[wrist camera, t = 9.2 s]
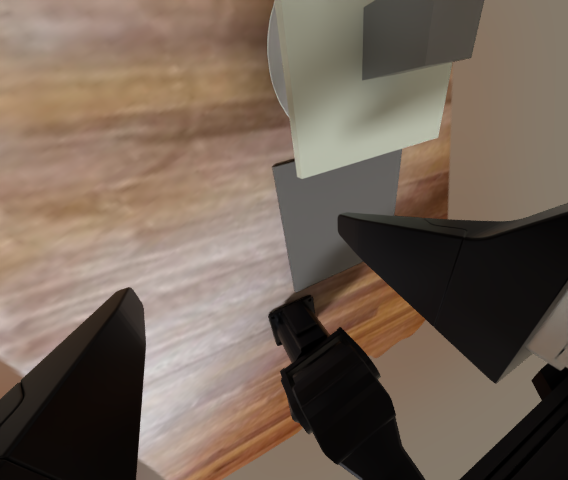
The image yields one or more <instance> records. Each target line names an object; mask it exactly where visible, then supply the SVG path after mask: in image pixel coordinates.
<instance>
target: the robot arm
mask: <svg viewBox="0 0 568 480" xmlns="http://www.w3.org/2000/svg"><path fill="white" fill-rule="evenodd" d="M337 225H338V233H339V235H340V236H341V237H342V239H343V240H344V241H345V242H346V243H347V244H348V245H349V247H350V248H351V249H352V250H353V251H354V252H355V253H356V255H357V256H358V257H359V258H360V259H361V260H363V261H364V262H365V263H366V264H367V265H368V266H369V267H370V268H371V269H372V270H373V271H374V272H375V273H376V274H378V275H379V276H380V277H381V278H382V279H383V280H384V281H385V282H386V283H387V284H388V285H389V286H390V287H392V288H393V289H394V290H395V291H396V292H397V293H398V294H399V295H400V296H401V297H402V298H403V299H404V300H405V301H407V302H408V303H409V304H410V305H411V306H412V307H413V308H414V309H415V310H416V311H417V312H418V313H419V314H420V315H422V316H423V317H424V318H425V319H426V320H427V321H428V322H429V323H430V324H431V325H432V326H434V327H435V329H436V330H438V332H440V333H441V334H442V335H443V336H444V337H445V338H446V339H447V340H448V341H449V342H450V343H451V344H452V345H454V346H455V347H456V348H457V349H458V350H459V351H460V352H461V353H462V354H463V355H464V356H465V357H466V358H467V359H468V360H470V361H471V362H472V363H473V364H474V365H475V366H476V367H477V368H478V369H479V370H480V371H481V372H482V373H484V374H485V375H486V376H487V377H488V378H489V379H490V380H491V381H493V382H494V383H498V382H499V381H500V380H501V379H503V378H504V377H505V376H506V375H507V374H509V373H510V372H511V371H512V370H513V369H515V368H516V367H517V366H518V365H520V364H521V363H522V362H523V361H524V360H525V359H527V358H528V357H529V356H530V355H532V354H535V355H536V356H538V357H539V358H541V359H543V360H544V361H546V362H547V363H548V364H547V365H545V366H544V367H543V368H542V369H541V370H540V371H539V372H538V373H537V374H536V376H535V377H534V378H533V379H532V382H533V384H534V386H535V388H536V390H537V392H538V394H539V396H540V398H541V399H542V401H541V402H540V403H539V404H538V405H537V406H536V407H535V408H534V409H533V410H532V411H531V412H530V413H529V414H528V415H527V416H525V418H523V419H522V421H520V422H519V423H518V424H517V425H516V426H515V427H514V428H513V429H512V430H511V431H510V432H509V433H508V434H507V435H506V436H505V437H504V438H502V439H501V440H500V441H499V442H498V443H497V444H496V445H495V446H494V447H493V448H492V449H491V450H490V451H489V452H488V453H487V454H486V455H485V456H484V457H483V458H482V459H481V460H479V461H478V462H477V463H476V464H475V465H474V466H473V467H472V468H471V469H470V470H469V471H468V472H467V473H466V474H465V475H464V476H463V477H462V478H461V479H460V480H568V203H567V204H564V205H560V206H558V207H555V208H552V209H549V210H546V211H543V212H540V213H537V214H535V215H532V216H529V217H526V218H523V219H519V220H513V221H503V222H502V221H501V222H500V221H471V220H447V219H432V218H418V217H404V216H390V215H377V214H363V213H350V212H345V213H342V214H339V215H338V218H337ZM268 318H269V321H270V324H271V328H272V331H273V335H274V338H275V342H276V344H277V346H280V345H283V347H284V348H285V350H286V352H287V354H288V356H289V358H290V360H291V362H292V364H290V365H289V366H288V367H286V368H285V369H284V368H283V369H282V370H281V371H280V373H281V376H282V378H281V379H282V380H281V382H282V385H283V387H284V389H285V392H286V395H287V398H288V403H289V408H290V412H291V416H292V419H293V420H294V421H295V422H298V423H300V424H301V426H302V427H303V428H304V429H305V431H306V432H307V433H308V434H310V433H312V432H313V434H314V436H315V438H316V440H317V442H318V443H319V445H320V447H321V449H322V451H323V452H324V454H325V455H326V456H327V457H328V458H329V459H331V460H332V461H333V462H334V463H335V464H337V465H338V464H339V465H340V466H342V467H343V468H344V469H346V470H347V471H348V472H350V473H351V474H352V475H354V476H355V477H357V478H358V479H359V480H425V479H424V477H423V475H422V474H421V473H420V471H419V470H418V468H417V467H416V465H415V464H414V463H413V461H412V460H411V458H410V457H409V455H408V454H407V452H406V451H405V450H404V448H403V446H402V444H401V439H400V435H399V431H398V426H397V422H396V418H395V416H396V414H395V410H394V407H393V403H392V400H391V398H390V396H389V394H388V393H387V392H386V390H385V389H384V387H383V386H382V385H381V383H380V382H379V381H378V379H379V378H380V377H381V376H380V374H379V372H378V370H377V368H376V367H375V365H374V364H373V362H372V361H371V360H370V358H369V357H368V356H367V354H366V353H365V352H364V351H363V350H362V349H361V348H360V346H359V345H358V344H357V343H356V342H355V341H354V340H353V339H352V338H351V337H350V336H349V335H348V334H347V333H346V332H345V331H344V330H343V329H342V328H341V327H339V328H338V329H337V331H335V332H334V333H333V334H331V335H330V334H329V333H328V332H327V330H326V329H325V328H324V326H323V325H322V324H321V322H320V321H319V320H318V318H317V317H316V316H315V310H314V302H313V297H312V296H311V295H309V296H306V297H304V298H302V299H300V300H298V301H296V302H294V303H292V304H289V305H287V306H285V307H283V308H281V309H279V310H277V311H275V312H273V313H271V314H269V316H268ZM145 352H146V336H145V321H144V308H143V304H142V302H141V301H140V299H139V298H138V296H137V295H136V293H135V292H134V290H133V289H132V288H130V287H128V288H125V289H122V290H119V291H117V292H116V293H114V294H113V295H112V296H111V297H110V298H109V299H108V300H107V301H106V302H105V303H104V304H103V305H102V306H100V307H99V308H98V309H97V310H96V311H95V312H94V313H93V314H92V315H91V316H90V317H89V318H87V319H86V320H85V321H84V322H83V323H82V324H81V325H80V326H79V327H78V328H77V329H76V330H75V331H73V332H72V333H71V334H70V335H69V336H68V337H67V338H66V339H65V340H64V341H63V342H62V343H60V344H59V345H58V346H57V347H56V348H55V349H54V350H53V351H52V352H51V353H50V354H49V355H48V356H46V357H45V358H44V359H43V360H42V361H41V362H40V363H39V364H38V365H37V366H36V367H35V368H33V369H32V370H31V371H30V372H29V373H28V374H27V375H26V376H25V377H24V378H23V379H22V380H21V382H20V383H17V384H16V385H15V386H14V387H13V388H12V389H11V390H10V391H9V392H7V393H6V394H5V395H4V396H3V397H2V398H1V399H0V480H136V472H137V459H138V446H139V432H140V419H141V406H142V392H143V379H144V365H145Z"/></svg>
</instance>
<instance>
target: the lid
mask: <svg viewBox="0 0 568 480" xmlns="http://www.w3.org/2000/svg"><path fill="white" fill-rule="evenodd" d="M274 2H275V10H276V17H277V25H278V33H279V41H280V48H281V56H282V64H283V71H284V79H285V87H286V95H287V102H288V110H289V118H290V126H291V133H292V141H293V149H294V156H295V164H296V172H297V177H299V178H301V179H304V178H307V177H310V176H314V175H317V174H320V173H324V172H327V171H330V170H333V169H337V168H340V167H343V166H347V165H350V164H353V163H356V162H360V161H363V160H366V159H369V158H373V157H376V156H379V155H383V154H386V153H389V152H392V151H396V150H399V149H402V148H406V147H409V146H412V145H415V144H419V143H422V142H425V141H428V140H432V139H435V138H438V135H439V130H440V124H441V119H442V114H443V109H444V104H445V98H446V93H447V88H448V83H449V78H450V72H451V67H452V62H455V61H459V60H464V59H469V58H471V56H472V52H473V47H474V43H475V39H476V34H477V29H478V25H479V20H480V17H481V12H482V8H483V3H484V0H274Z"/></svg>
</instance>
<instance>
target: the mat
mask: <svg viewBox="0 0 568 480" xmlns="http://www.w3.org/2000/svg"><path fill="white" fill-rule="evenodd" d="M401 154H402V149H399V150H396V151H392V152H389V153H386V154H383V155H379V156H376V157H373V158H369V159H366V160H363V161H360V162H356V163H353V164H350V165H347V166H343V167H340V168H337V169H333V170H330V171H327V172H324V173H320V174H317V175H314V176H310V177H307V178H304V179H301V178H299V177H297V172H296V164H295V161H292V162H288V163H285V164H281V165H277V166H273V167H272V169H273V174H274V180H275V185H276V191H277V196H278V202H279V208H280V213H281V219H282V224H283V230H284V235H285V241H286V247H287V252H288V258H289V263H290V269H291V274H292V280H293V286H294V291H295V292H298V291H301V290H303V289H305V288H307V287H309V286H311V285H314V284H316V283H318V282H320V281H322V280H324V279H327V278H329V277H331V276H333V275H335V274H337V273H340V272H342V271H344V270H346V269H348V268H350V267H353V266H355V265H357V264H359V263H361V262H363V260H361V259H360V258H359V257H358V256H357V255H356V253H355V252H354V251H353V250H352V249H351V248H350V247H349V245H348V244H347V243H346V242H345V241H344V240H343V239H342V237H341V236H340V235H339V233H338V225H337V218H338V215H339V214H342V213H345V212H350V213H363V214H377V215H390V216H394V212H395V204H396V196H397V187H398V179H399V171H400V162H401Z"/></svg>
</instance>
